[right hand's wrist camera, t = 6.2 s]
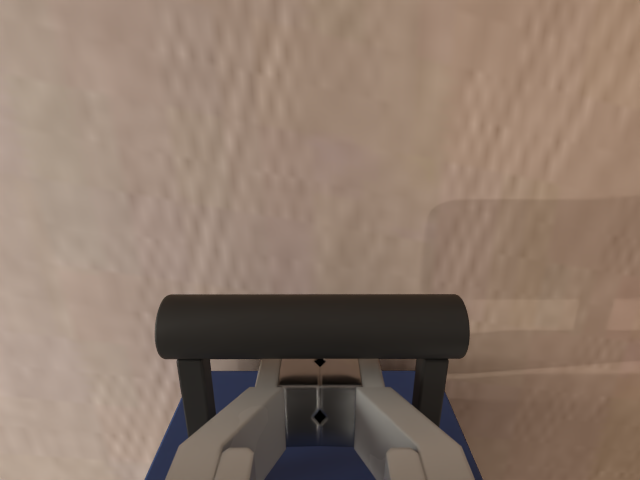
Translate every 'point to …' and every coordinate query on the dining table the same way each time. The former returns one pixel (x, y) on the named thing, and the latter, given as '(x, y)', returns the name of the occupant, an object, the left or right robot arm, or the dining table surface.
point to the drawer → (308, 343)
